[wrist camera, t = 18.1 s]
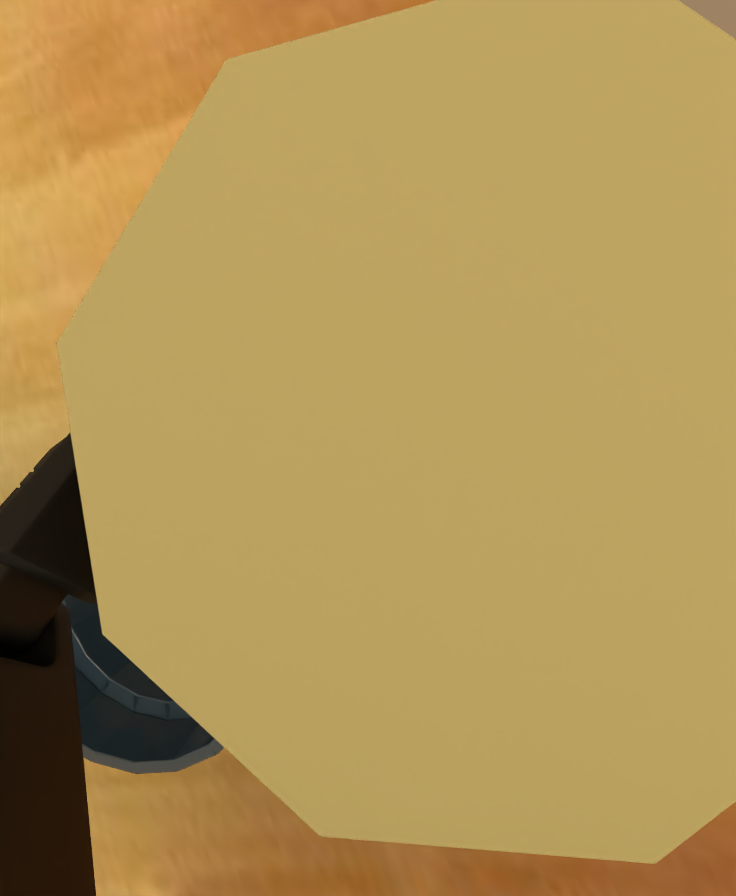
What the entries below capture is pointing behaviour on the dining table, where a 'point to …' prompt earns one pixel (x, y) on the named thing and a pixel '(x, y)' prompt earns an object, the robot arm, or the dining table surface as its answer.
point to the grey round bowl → (128, 707)
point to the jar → (437, 425)
